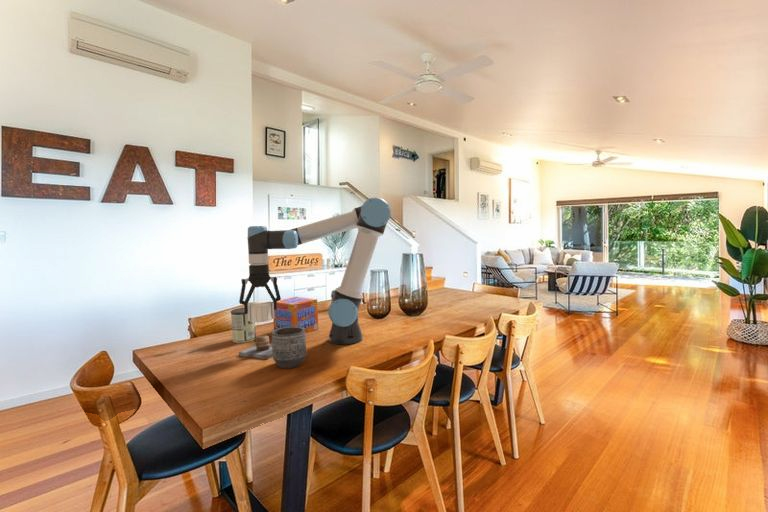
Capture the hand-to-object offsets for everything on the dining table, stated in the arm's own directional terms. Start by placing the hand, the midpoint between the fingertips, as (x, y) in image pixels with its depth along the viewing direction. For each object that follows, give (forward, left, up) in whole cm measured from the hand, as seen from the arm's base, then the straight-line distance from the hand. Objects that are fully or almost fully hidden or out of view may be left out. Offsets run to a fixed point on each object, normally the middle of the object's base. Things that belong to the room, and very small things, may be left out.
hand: (261, 319), depth 151 cm
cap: (0, 0, 0) cm, 0 cm away
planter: (-19, +8, -14) cm, 25 cm away
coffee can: (+21, -13, -14) cm, 29 cm away
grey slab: (0, 0, -14) cm, 14 cm away
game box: (+6, -33, -14) cm, 36 cm away
